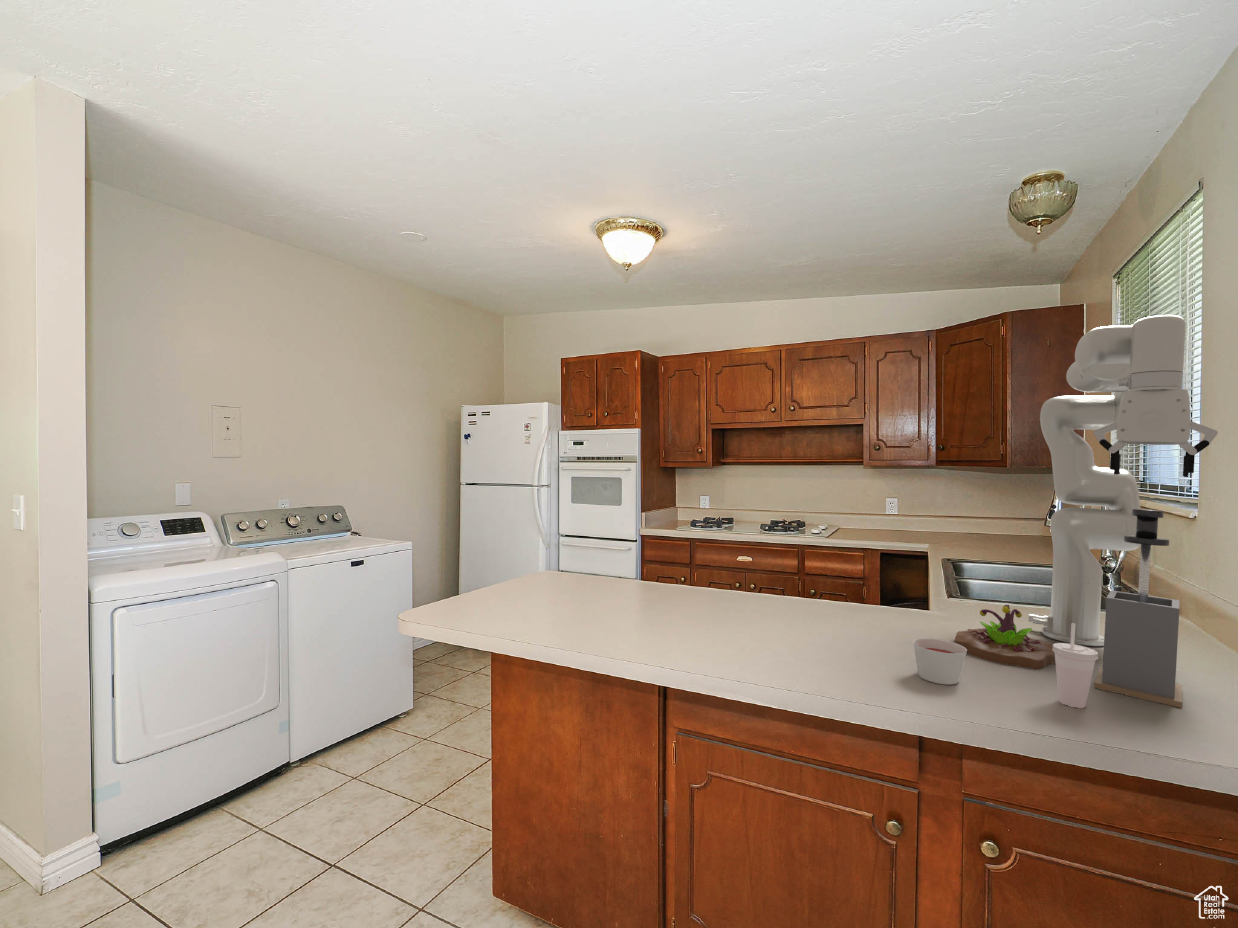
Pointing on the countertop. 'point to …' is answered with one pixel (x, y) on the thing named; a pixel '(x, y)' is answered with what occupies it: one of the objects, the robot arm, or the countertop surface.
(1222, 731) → the countertop surface
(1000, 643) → the plant
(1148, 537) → the plunger
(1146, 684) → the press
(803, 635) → the countertop surface
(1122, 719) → the countertop surface
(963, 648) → the candle
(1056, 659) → the smoothie
